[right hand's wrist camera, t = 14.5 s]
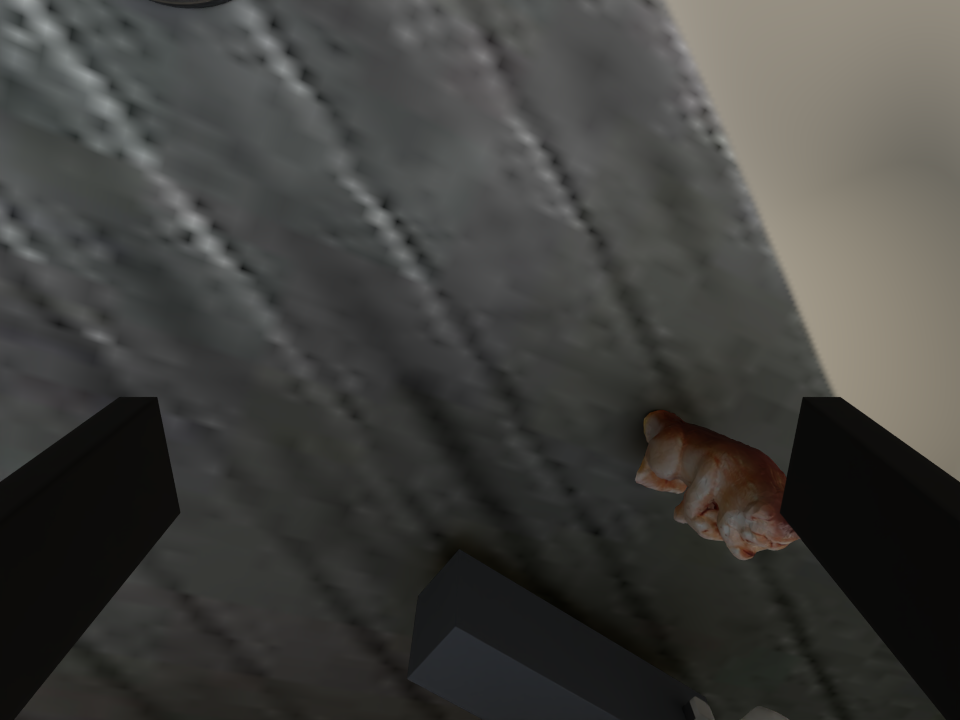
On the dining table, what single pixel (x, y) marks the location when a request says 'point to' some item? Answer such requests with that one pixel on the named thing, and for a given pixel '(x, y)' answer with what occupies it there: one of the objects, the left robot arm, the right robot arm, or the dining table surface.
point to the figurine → (716, 484)
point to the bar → (527, 655)
